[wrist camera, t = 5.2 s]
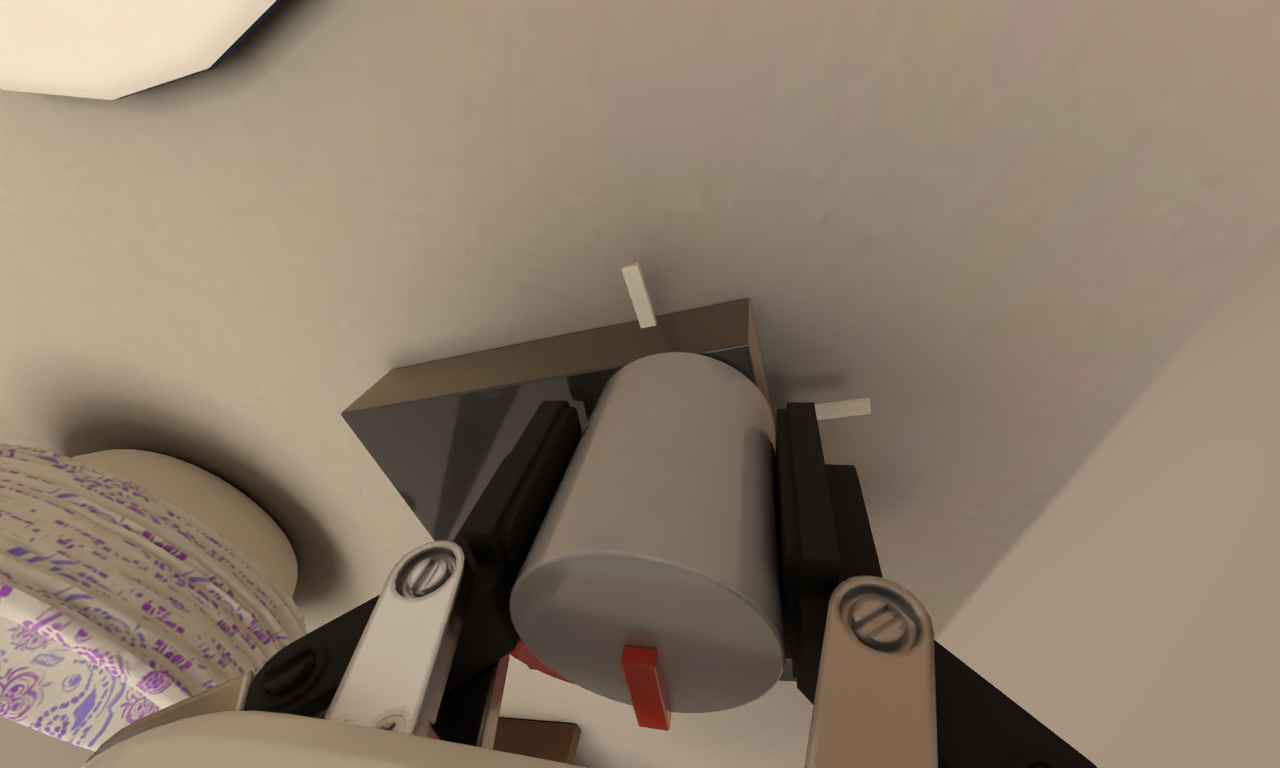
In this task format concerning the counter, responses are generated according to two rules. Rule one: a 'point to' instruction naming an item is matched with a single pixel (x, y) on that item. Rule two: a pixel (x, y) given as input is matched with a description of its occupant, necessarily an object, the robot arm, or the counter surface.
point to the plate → (117, 42)
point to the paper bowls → (130, 588)
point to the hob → (531, 400)
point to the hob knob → (663, 546)
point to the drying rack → (537, 739)
